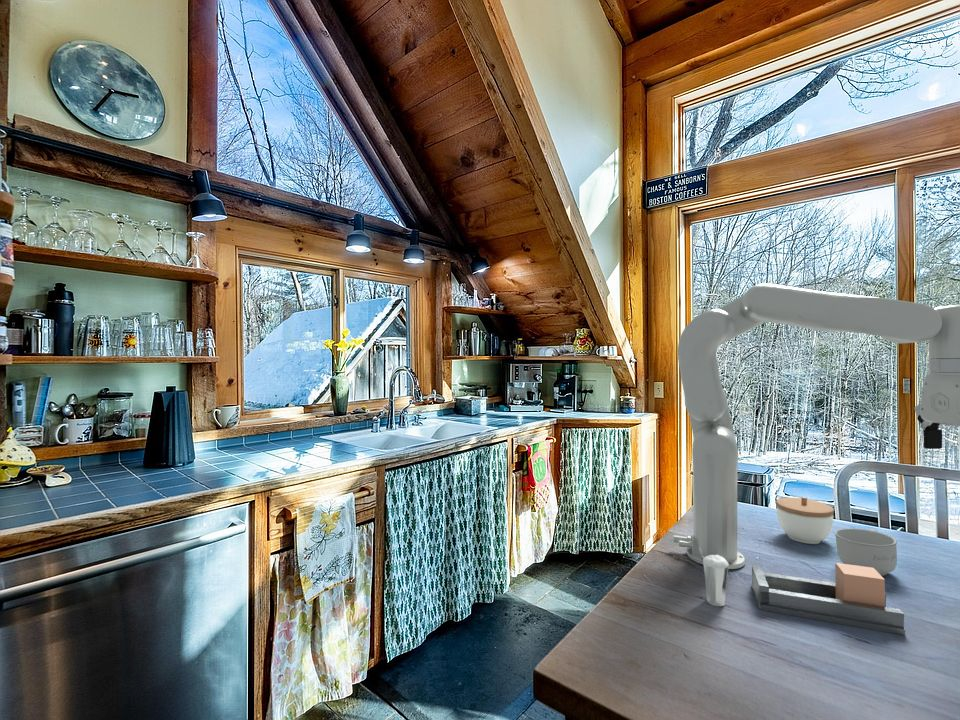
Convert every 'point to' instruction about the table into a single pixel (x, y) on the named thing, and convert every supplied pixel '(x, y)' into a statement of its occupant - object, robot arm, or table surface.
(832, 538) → the table surface
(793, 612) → the chute
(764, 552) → the table surface
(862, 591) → the block
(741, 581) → the table surface
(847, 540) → the teacup
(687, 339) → the robot arm
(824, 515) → the lidded bowl
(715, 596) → the milkshake
